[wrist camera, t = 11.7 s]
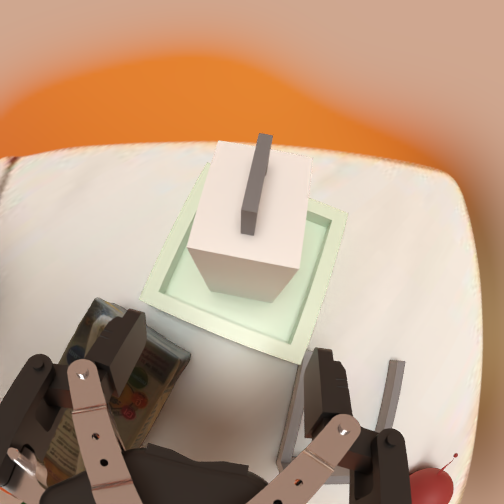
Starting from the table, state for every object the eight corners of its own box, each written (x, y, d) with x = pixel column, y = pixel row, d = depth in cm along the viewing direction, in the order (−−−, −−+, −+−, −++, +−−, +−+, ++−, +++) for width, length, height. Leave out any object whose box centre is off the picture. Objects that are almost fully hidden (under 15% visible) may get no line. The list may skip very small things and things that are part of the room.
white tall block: (210, 290, 23) (175, 226, 10) (226, 221, 25) (216, 107, 12) (271, 303, 23) (312, 252, 10) (283, 232, 25) (324, 126, 12)
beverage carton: (199, 355, 23) (184, 359, 16) (109, 502, 17) (82, 531, 11) (122, 304, 24) (87, 290, 17) (47, 453, 18) (10, 469, 12)
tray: (148, 304, 23) (138, 299, 21) (209, 177, 27) (207, 162, 25) (294, 363, 22) (300, 365, 20) (339, 224, 26) (348, 213, 24)
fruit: (428, 466, 21) (478, 448, 15) (426, 510, 16) (478, 500, 11) (385, 471, 21) (433, 456, 16) (380, 519, 17) (431, 516, 11)
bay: (276, 463, 20) (282, 482, 16) (301, 349, 23) (313, 350, 19) (372, 465, 20) (391, 480, 16) (397, 360, 23) (421, 361, 19)
